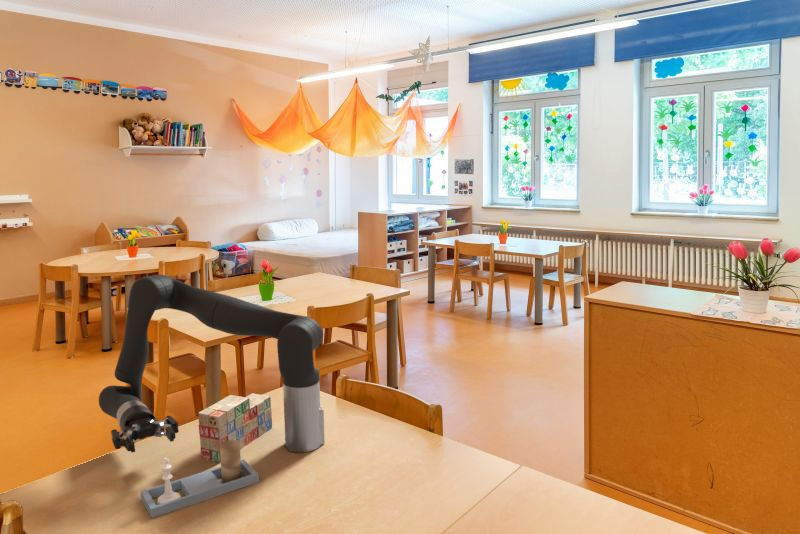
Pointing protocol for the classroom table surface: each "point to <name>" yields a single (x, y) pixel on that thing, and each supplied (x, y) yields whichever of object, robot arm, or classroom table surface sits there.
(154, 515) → the blue-grey slotted tray
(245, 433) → the stack of blocks
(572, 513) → the classroom table surface
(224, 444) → the tan brown upright column
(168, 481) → the chess piece
